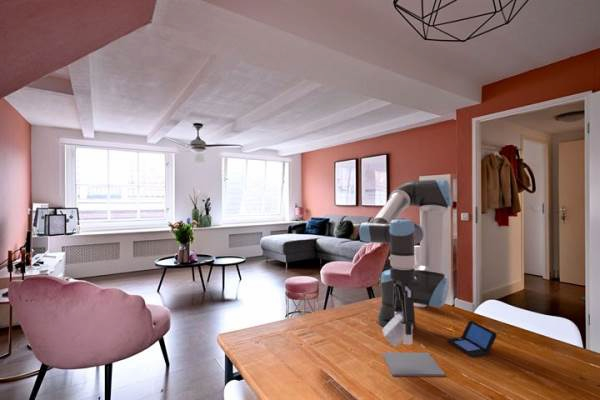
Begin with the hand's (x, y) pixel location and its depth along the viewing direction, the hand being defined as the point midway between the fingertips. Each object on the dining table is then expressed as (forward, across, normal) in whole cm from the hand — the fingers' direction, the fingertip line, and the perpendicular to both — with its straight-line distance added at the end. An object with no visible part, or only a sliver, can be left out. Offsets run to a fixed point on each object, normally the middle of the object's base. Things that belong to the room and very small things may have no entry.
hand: (403, 337), depth 99 cm
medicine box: (+1, 0, -5) cm, 5 cm away
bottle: (+10, -58, +25) cm, 64 cm away
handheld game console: (+10, -13, +28) cm, 33 cm away
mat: (+10, -2, +3) cm, 10 cm away
